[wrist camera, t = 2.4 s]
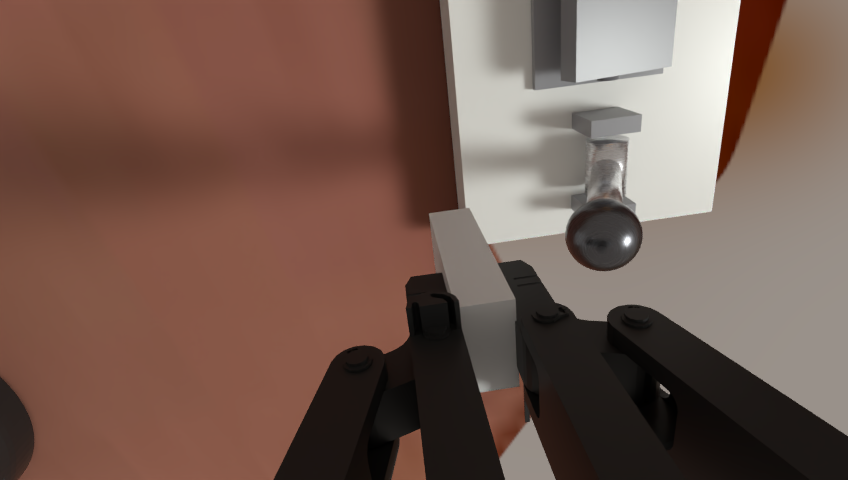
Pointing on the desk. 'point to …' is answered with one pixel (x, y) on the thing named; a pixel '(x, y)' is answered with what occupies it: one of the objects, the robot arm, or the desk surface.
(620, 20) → the rocker switch
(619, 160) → the toggle lever
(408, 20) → the desk surface
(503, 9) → the switch panel
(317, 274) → the desk surface
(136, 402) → the desk surface
